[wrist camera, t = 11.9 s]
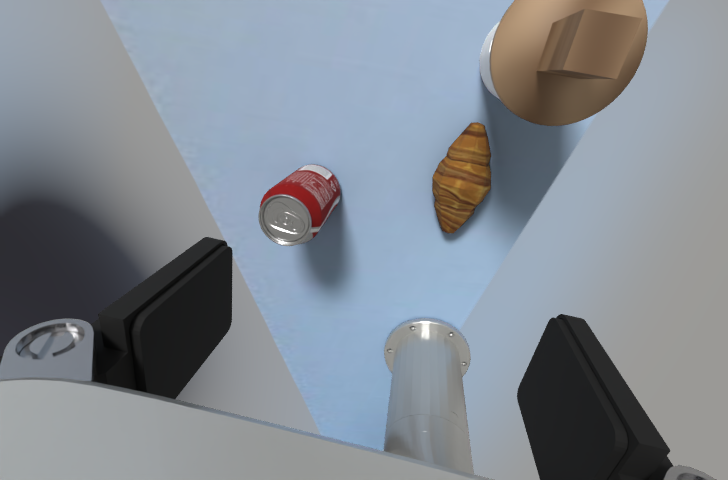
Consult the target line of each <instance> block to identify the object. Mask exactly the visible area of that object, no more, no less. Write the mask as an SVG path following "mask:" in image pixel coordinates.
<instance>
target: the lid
mask: <svg viewBox="0 0 728 480" xmlns="http://www.w3.org/2000/svg"><path fill="white" fill-rule="evenodd" d="M647 33H648V25H647V15H646V10H645V7H644V4H643V1H642V0H515V1H514V2H513V3H512V4H511V6H510V7H509V8H508V9H507V11H506V12H505V14H504V16H503V17H502V19H501V21H500V23H499V25H498V27H497V29H496V32H495V35H494V38H493V41H492V45H491V50H490V60H489V61H490V75H491V80H492V83H493V87H494V89H495V91H496V93H497V95H498V97H499V98H500V100H501V102H502V103H503V104H504V105H505V106H506V107H507V108H508V109H509V110H510V111H511V112H512V113H514V114H515V115H517V116H518V117H520V118H522V119H525V120H527V121H529V122H532V123H535V124H539V125H547V126H560V125H567V124H571V123H575V122H578V121H581V120H584V119H586V118H588V117H590V116H592V115H594V114H596V113H598V112H599V111H601V110H602V109H604V108H605V107H606V106H608V105H609V104H610V103H611V102H613V101H614V100H615V99H616V98H617V97H618V96H619V95H620V94H621V92H622V91H623V90H624V89H625V87H626V86H627V85H628V84H629V82H630V81H631V79H632V78H633V76H634V75H635V73H636V71H637V69H638V67H639V65H640V62H641V60H642V57H643V54H644V50H645V46H646V42H647Z"/></svg>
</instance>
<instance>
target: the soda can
mask: <svg viewBox="0 0 728 480" xmlns="http://www.w3.org/2000/svg"><path fill="white" fill-rule="evenodd" d="M340 195H341V189H340V185H339V182H338V180H337V178H336V177H335V175H334V174H333V173H332V172H331V171H330V170H328V169H327V168H325V167H323V166H320V165H315V164H311V165H305V166H303V167H301V168H299V169H298V170H296V171H295V172H294V173H292V174H291V175H289V176H288V177H286V178H285V179H284V180H282V181H281V182H279V183H278V184H277V185H275V186H274V187H272V188H271V189H270V190H269V191H267V193H266V194H265V195H264V197H263V199H262V201H261V204H260V211H259V223H260V226H261V229H262V230H263V232H264V233H265V235H266V236H267V237H268V238H269V239H270V240H272V241H273V242H275V243H277V244H280V245H284V246H293V245H297V244H302V243H305V242H308V241H310V240H311V239H312V238H314V237H315V236H316V234H317V233H318V232H319V230H320V229H321V227H322V226H323V224H324V223H325V222H326V220H327V219H328V217H329V216H330V215H331V213H332V212H333V210H334V209H335V207H336V206H337V204H338V202H339V200H340Z"/></svg>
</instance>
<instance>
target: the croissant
mask: <svg viewBox="0 0 728 480" xmlns="http://www.w3.org/2000/svg"><path fill="white" fill-rule="evenodd" d="M490 158H491V153H490V147H489V142H488V137H487V133H486V130H485V126H484V125H482V124H480V123H478V122H476V123H471V124H470V125H469V126H468V127H467V128H466V129H465V130H464V131H463V132H462V134H461V135H460V136H459V137H458V138H457V139H456V140H455V142H454V143H453V144H452V145H451V146H450V147H449V149H448V153H447V156H446V157H445V158H444V159H443V160H442V161H441V162H440V163H439V165H438V167H437V169H436V171H435V173H434V175H433V194H434V196H435V204H434V207H435V210H436V214H437V217H438V220H439V223H440V226H441V229H442V231H444V232H446V233H454V232H455V231H456V230H457V229H458V228H459V227H461V226H462V225H463V224H464V223H465V222H466V221H467V220H468V219H469V218H470V217H471V216H472V215H473V213H474V210H475V207H476V206H477V205H479V204H480V203H481V202H482V201H483V199H484V198H485V196H486V195H487V193H488V192H489V190H490V189H491V171H490V167H489V161H490Z"/></svg>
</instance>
